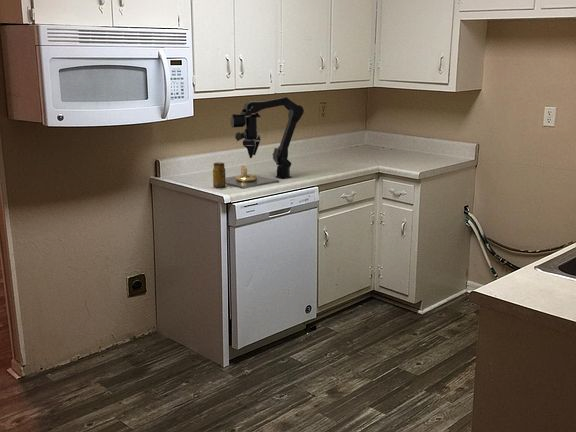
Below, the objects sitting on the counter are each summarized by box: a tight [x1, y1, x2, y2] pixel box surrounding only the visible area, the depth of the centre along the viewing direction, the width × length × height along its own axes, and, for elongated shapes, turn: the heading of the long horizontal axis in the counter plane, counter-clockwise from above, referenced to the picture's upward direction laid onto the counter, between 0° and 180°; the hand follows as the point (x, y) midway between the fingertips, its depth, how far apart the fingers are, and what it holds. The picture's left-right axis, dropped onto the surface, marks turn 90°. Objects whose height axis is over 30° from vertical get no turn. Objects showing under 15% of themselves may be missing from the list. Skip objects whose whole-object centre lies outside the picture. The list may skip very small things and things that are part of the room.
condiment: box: [209, 162, 231, 190], centre depth 313 cm, size 7×8×12 cm
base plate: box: [225, 173, 280, 189], centre depth 327 cm, size 24×24×1 cm
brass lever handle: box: [235, 165, 258, 181], centre depth 329 cm, size 12×16×5 cm
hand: (252, 156), depth 329 cm, fingers open, 9 cm apart
